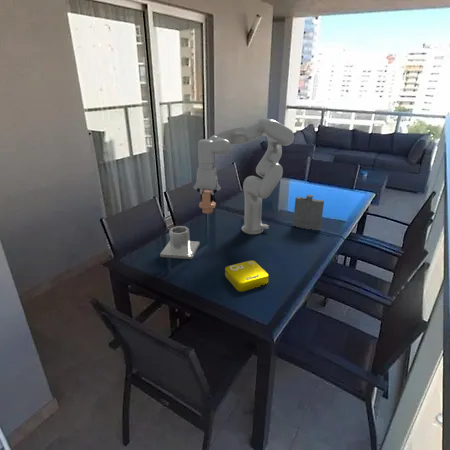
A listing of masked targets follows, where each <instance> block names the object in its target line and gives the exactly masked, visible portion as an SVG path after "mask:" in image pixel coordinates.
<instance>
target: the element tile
mask: <svg viewBox="0 0 450 450" xmlns="http://www.w3.org/2000/svg"><path fill="white" fill-rule="evenodd" d="M224 274H225V276H224V277H225V278H226V279H227V280H228V281H229V282H230V284H232V286H233V288H234V289H236V291H238V292H246V291H248V290H249V291H250V290H252V289H256V288H259V287H262V286H261V285H263V286H265V284H266V285H268V284H269V280H270V279H269V278H270V277H269V276H270V275H269V273H268V272H267V271H266V270H265V269H264V268H262V266H260V265H259V264H258V263H257V262H256V261H255V260H252V259H251V260H247V261H243V262H239V263H236V264H235V263H234V264H232V265H228V266H225V268H224ZM267 283H268V284H267ZM255 287H256V288H255Z"/></svg>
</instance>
